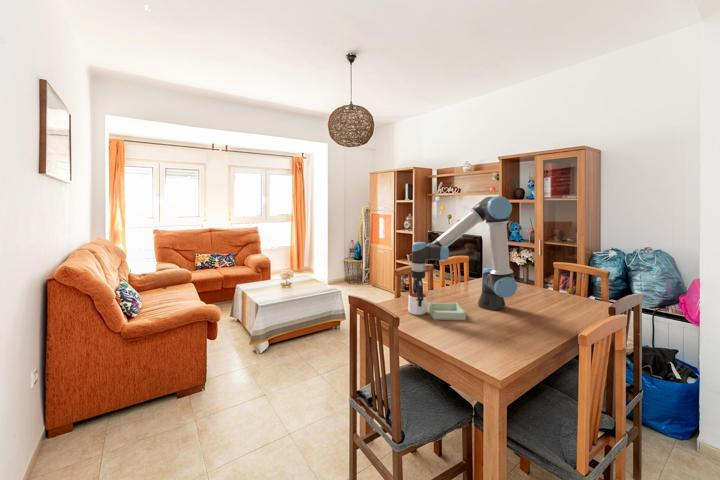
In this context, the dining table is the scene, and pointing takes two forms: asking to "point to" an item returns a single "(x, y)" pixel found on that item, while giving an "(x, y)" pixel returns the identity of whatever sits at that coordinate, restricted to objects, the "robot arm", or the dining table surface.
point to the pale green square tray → (446, 311)
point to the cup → (413, 304)
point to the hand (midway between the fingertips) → (417, 307)
